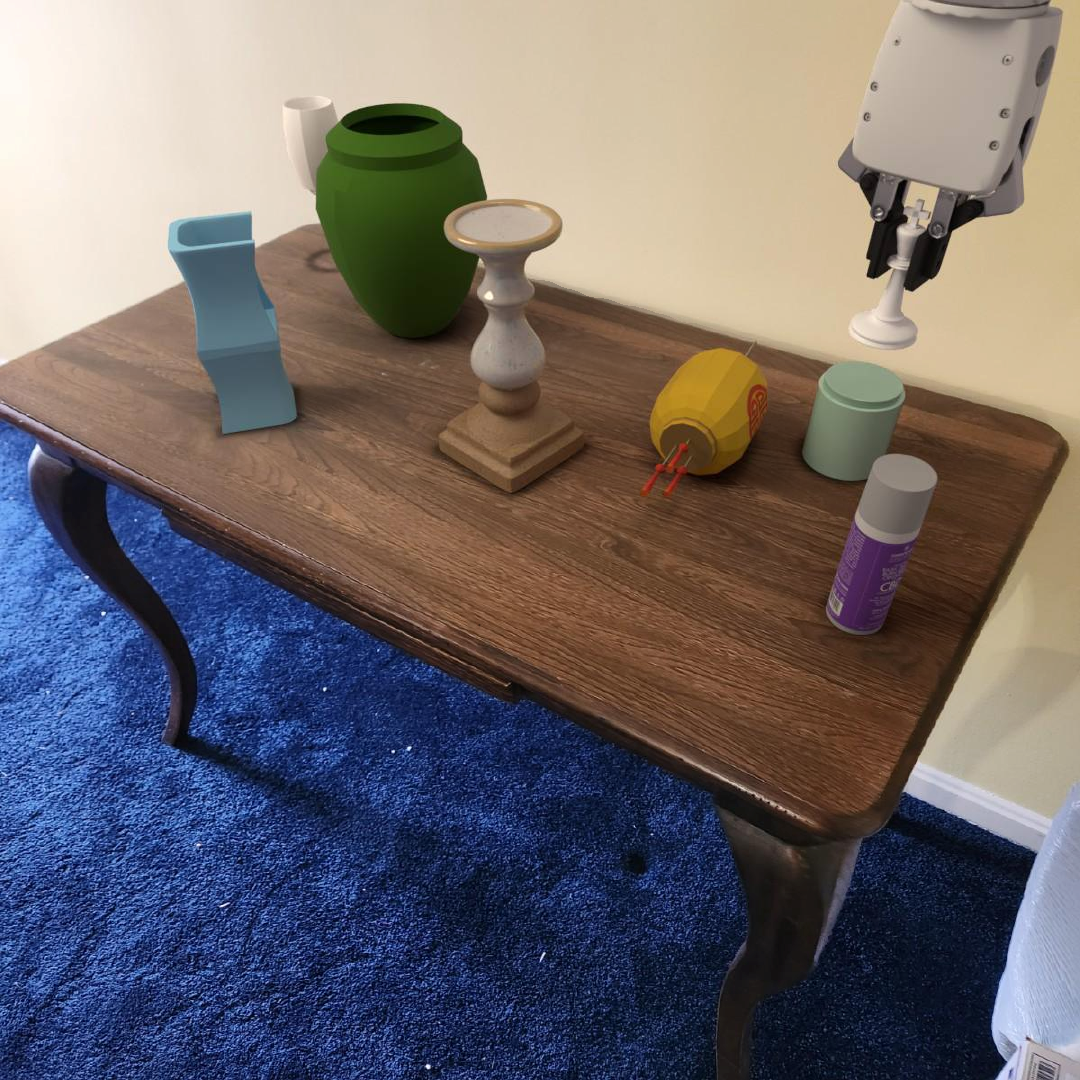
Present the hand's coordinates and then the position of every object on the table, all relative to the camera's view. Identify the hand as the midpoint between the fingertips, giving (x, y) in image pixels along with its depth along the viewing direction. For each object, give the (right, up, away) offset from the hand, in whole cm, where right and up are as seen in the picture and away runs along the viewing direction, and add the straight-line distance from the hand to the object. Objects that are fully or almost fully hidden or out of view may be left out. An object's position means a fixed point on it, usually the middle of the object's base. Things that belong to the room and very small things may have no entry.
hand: (898, 276), depth 62 cm
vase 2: (-57, -4, +33) cm, 66 cm away
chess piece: (0, -3, +3) cm, 5 cm away
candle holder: (-29, -9, +28) cm, 41 cm away
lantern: (-9, -10, +27) cm, 30 cm away
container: (0, -25, +10) cm, 27 cm away
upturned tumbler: (+5, -10, +26) cm, 28 cm away
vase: (-41, +8, +47) cm, 63 cm away
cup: (-55, +21, +61) cm, 85 cm away
